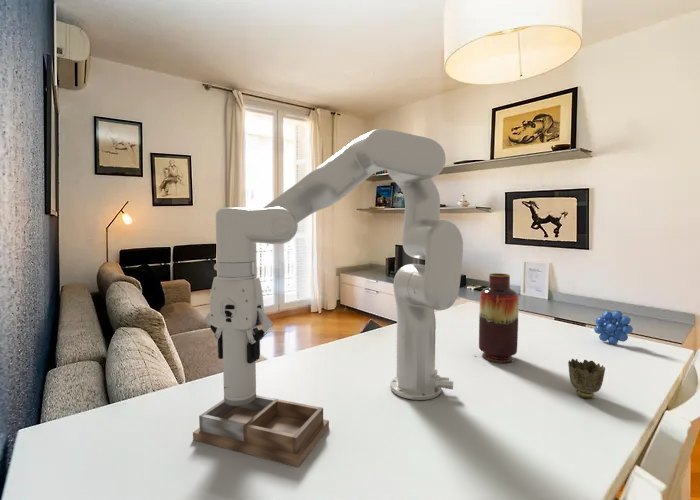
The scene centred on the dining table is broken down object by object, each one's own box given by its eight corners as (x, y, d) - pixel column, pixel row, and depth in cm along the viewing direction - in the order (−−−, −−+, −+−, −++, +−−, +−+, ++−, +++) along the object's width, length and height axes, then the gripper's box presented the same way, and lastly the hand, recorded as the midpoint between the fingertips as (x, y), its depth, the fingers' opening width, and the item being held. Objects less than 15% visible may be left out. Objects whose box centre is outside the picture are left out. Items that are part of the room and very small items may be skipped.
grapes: (638, 347, 122) (640, 311, 121) (627, 350, 119) (629, 314, 118) (600, 337, 132) (602, 305, 131) (590, 340, 129) (591, 307, 128)
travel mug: (216, 405, 71) (214, 304, 70) (234, 390, 78) (232, 298, 76) (246, 408, 70) (244, 306, 68) (261, 393, 76) (259, 299, 75)
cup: (598, 392, 90) (599, 360, 89) (608, 406, 83) (610, 371, 82) (563, 387, 92) (565, 356, 91) (571, 401, 85) (572, 367, 85)
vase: (499, 367, 105) (502, 278, 103) (470, 355, 115) (472, 273, 113) (525, 360, 110) (527, 275, 109) (495, 349, 120) (497, 271, 118)
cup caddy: (328, 427, 74) (328, 406, 74) (298, 467, 62) (297, 442, 62) (236, 408, 82) (235, 388, 82) (193, 439, 70) (192, 417, 70)
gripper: (188, 270, 71) (191, 359, 73) (263, 274, 65) (265, 372, 67) (215, 266, 78) (217, 347, 80) (285, 270, 72) (286, 358, 74)
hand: (239, 358), depth 73 cm, fingers closed on travel mug, 6 cm apart
